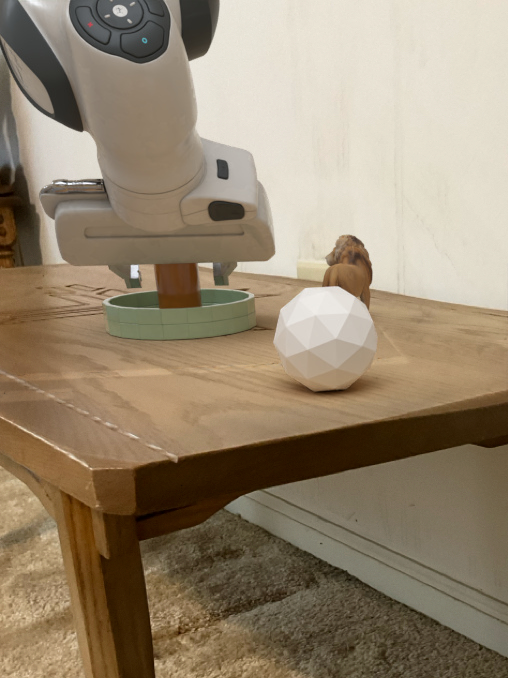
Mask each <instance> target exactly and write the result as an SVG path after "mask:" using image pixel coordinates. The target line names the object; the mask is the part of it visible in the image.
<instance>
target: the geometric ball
mask: <svg viewBox="0 0 508 678" xmlns="http://www.w3.org/2000/svg"><path fill="white" fill-rule="evenodd" d="M369 311H370V310H369ZM369 311H368V309H367V307H366V305H365V304H364V303H363V302H361V300H360V298H359V297H357V298H356V297H355V296H353V295H352V294H350V293H348V292H347V291H345V290H343V289H342V288H340V287H339V286H335V287H322V286H317V287H315V286H314V287H305V288H304V289H302V290H301V291H299V292H298V294H296V296H294V297H293V298H292V299H291V300H290V301H288V302H287V303H286V304H285V305H284V306H283V307H281V308H280V310H279V315H278V319H277V324H276V328H275V333H274V337H273V341H272V342H273V346H274V348H275V351H276V353H277V355H278V357H279V360H280V362H281V365H282V367H283V370H284V372H285V374H286V375H287V376H289V377H290V378H292V379H293V380H294V381H296V382H298V383H300V384H301V385H302V386H305V387H306V388H308V389H309V390H311V391H312V392H314V393H315V392H327V391H341V390H347V389H348V388H349V387H350V386H352V385H353V384H354V383H355V382H356V381H358V379H360V378H361V377H362V376H363V375H364V374H365V373H366V372H368V371H369V370H370V369H371V367H372V365H373V362H374V359H375V356H376V354H377V351H378V349H377V348H378V338H379V337H378V333H377V329H376V326H375V323H374V321H373V318H372V316H371V314H370V312H369Z"/></svg>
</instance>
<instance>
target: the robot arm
mask: <svg viewBox="0 0 508 678" xmlns="http://www.w3.org/2000/svg"><path fill="white" fill-rule="evenodd" d="M220 7H221V0H0V50H1V53H2V55H3V58H4V60H5V63H6V65H7V68H8V69H9V71H10V74H11V76H12V78H13V80H14V82H15V84H16V85H17V88H18V89H19V90H20V92H21V94H23V96H24V97H25V98H26V100H27V101H28V102H29V103H30V104H31V105H32V106H33V107H34V108H35V109H36V110H37V111H38V112H39V113H41V114H43V115H44V116H46V117H47V118H49V119H51V120H53V121H55V122H56V123H58V124H60V125H63V126H65V127H67V128H69V129H70V130H73V131H76V132H79V133H83V132H86V133H88V134H89V135H90V136H91V138H92V139H93V141H94V143H95V146H96V158H97V159H96V160H97V163H98V166H99V167H98V168H99V170H100V174H101V176H102V178H83V179H71V180H70V179H66V178H58V179H53V180H52V181H51V183H50V184H46V185H44V186H43V187H42V188H41V189H40V190H39V193H38V199H39V202H40V204H41V206H42V209H43V211H44V213H45V215H47V217H49V218H50V219H52V220H53V221H54V231H55V238H56V243H57V244H56V245H57V247H58V251H59V253H60V258H61V259H62V260H63V261H64V262H66V263H68V265H69V264H70V265H71V266H73V267H103V266H107V268H108V270H109V271H110V272H112V273H113V274H115V275H116V276H118V277H119V278H121V279H122V280H124V284H125V286H126V289H127V290H128V289H129V290H131V289H142V288H143V283H142V281H143V277H142V271H141V268H140V265H142V266H143V265H145V266H146V265H154V264H182V263H198V264H212V275H213V282H214V286H215V287H217V286H218V287H221V286H222V287H224V286H225V287H228V286H230V281H229V280H230V279H229V276H231V274H233V272H234V271H235V269H236V268H237V267H238V263H252V262H253V263H254V262H255V263H256V262H259V263H261V262H268V261H270V260H271V259H272V258H273V257H274V256H275V255H276V251H277V250H276V238H275V227H274V221H273V220H274V219H273V214H272V210H271V204H270V201H269V197H268V194H267V191H266V189H265V187H264V185H263V184H262V183H261V182H260V181H259V179H258V173H257V168H256V167H257V166H256V163H255V160H254V155H253V153H252V152H250V151H249V150H247V149H244V148H240V147H235V146H233V145H227V144H224V143H220V142H217V141H213V140H210V139H207V138H204V137H203V136H200V134H199V133H198V131H197V129H196V125H197V121H198V103H197V96H196V90H195V84H194V80H193V73H192V70H191V65H190V62H191V61H194V60H196V59H197V60H198V59H200V58H202V57H205V55H206V54H208V52H209V50H210V48H211V46H212V43H213V40H214V37H215V34H216V30H217V28H218V27H217V26H218V22H219V17H220Z"/></svg>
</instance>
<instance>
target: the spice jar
mask: <svg viewBox="0 0 508 678" xmlns="http://www.w3.org/2000/svg"><path fill="white" fill-rule="evenodd" d="M153 271H154V279H155V288H156V289H155V290H157V297H158V305H159V308H187V307H200V306H202V297H201V288H202V287H201V279H200V269H199V263H182V264H153Z"/></svg>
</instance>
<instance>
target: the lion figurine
mask: <svg viewBox="0 0 508 678" xmlns="http://www.w3.org/2000/svg"><path fill="white" fill-rule="evenodd" d="M334 245H335V246H334V247H333V248H332V251H331V252H330V253H328V254H327V255H325V256H324V259H325V262H326V265H328V266H329V267H328V268H326V270H325V272H324V275H323V279H322V286H321V287H335V286H339V287H340V288H342V289H343V290H345V291H347V292H348V293H350V294H352V295H353V296H355V297H356V298H359V300H360V301H361V302H363V303H364V304H365V305H366V307H367V309H368V311H370V304H371V303H370V302H371V290H370V286H371V285H372V283H373V276H374V275H373V273H374V272H373V271H374V270H373V264H372V261H371V258H370V253H369V251H368V250H367V248H366V247H365V244H364V243H363V241H362V240H361V239H360V238H358V237H357V236H355V235H352V234H342V235H339V236H338V238H337V239H336V240H335V244H334Z"/></svg>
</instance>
